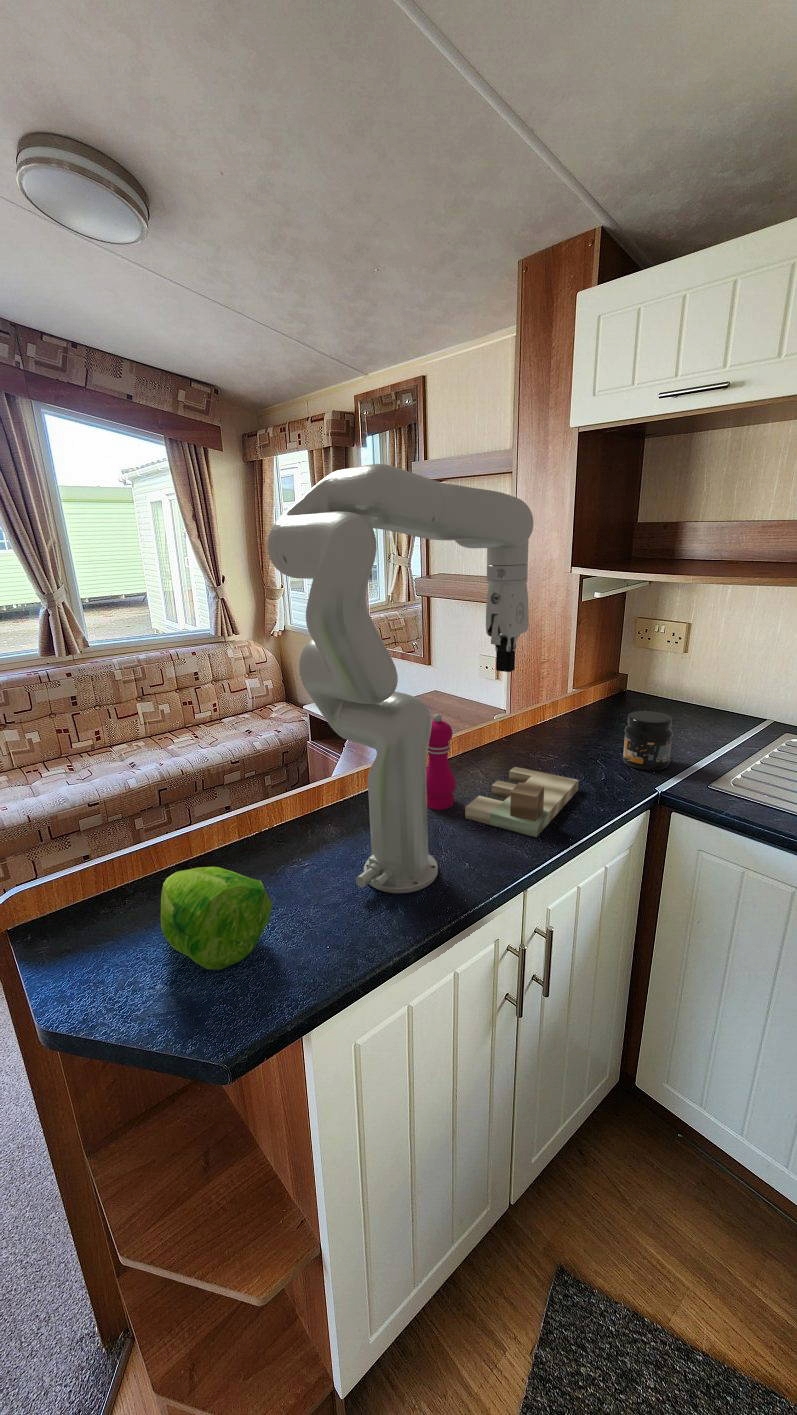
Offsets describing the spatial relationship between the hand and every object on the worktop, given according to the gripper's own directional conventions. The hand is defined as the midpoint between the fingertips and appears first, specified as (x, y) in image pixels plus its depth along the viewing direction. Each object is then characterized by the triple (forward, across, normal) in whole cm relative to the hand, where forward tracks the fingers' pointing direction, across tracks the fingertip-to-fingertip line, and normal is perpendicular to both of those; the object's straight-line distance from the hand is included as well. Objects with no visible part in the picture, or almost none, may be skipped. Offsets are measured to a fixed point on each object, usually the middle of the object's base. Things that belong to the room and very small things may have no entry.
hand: (505, 670), depth 112 cm
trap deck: (+29, +3, -4) cm, 29 cm away
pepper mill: (+29, -6, +12) cm, 32 cm away
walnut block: (+27, -5, -8) cm, 28 cm away
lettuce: (+29, -61, +17) cm, 70 cm away
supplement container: (+29, +38, -20) cm, 52 cm away
